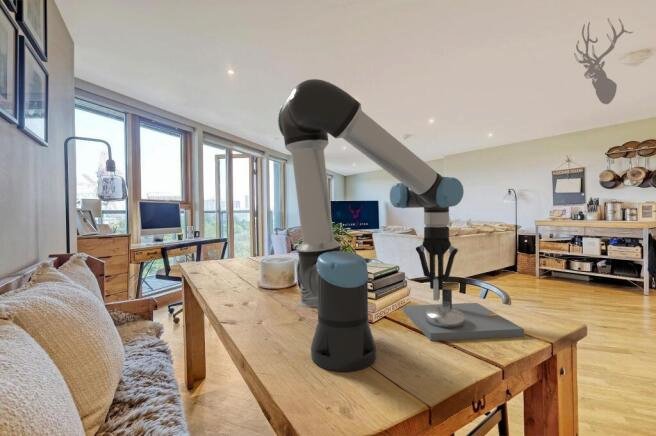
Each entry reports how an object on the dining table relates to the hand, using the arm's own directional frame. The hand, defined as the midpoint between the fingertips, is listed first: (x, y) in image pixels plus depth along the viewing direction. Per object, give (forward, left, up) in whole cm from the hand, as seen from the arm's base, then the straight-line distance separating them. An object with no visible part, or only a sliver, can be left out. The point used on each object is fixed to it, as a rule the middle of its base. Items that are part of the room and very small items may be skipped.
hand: (436, 299), depth 97 cm
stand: (+2, -8, -5) cm, 10 cm away
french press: (-39, +16, -5) cm, 42 cm away
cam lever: (-1, -9, -3) cm, 9 cm away
